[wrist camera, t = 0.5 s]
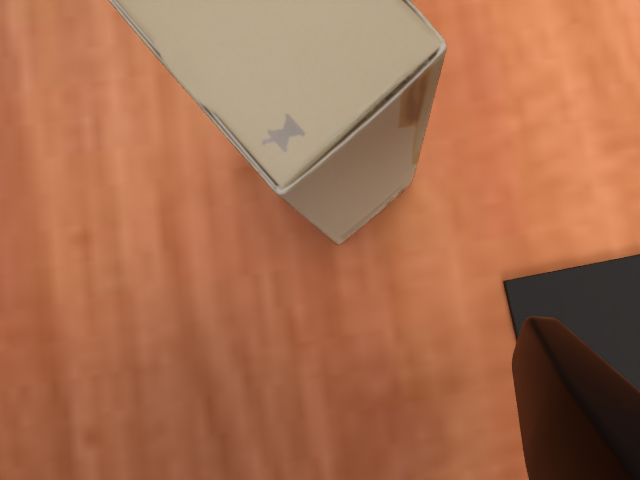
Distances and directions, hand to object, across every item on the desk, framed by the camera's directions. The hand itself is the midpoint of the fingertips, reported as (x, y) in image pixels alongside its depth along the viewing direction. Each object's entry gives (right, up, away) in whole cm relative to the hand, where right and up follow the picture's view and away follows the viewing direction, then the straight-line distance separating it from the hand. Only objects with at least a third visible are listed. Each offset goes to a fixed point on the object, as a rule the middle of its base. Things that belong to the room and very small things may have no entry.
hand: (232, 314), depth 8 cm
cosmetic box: (+2, +5, +14) cm, 15 cm away
